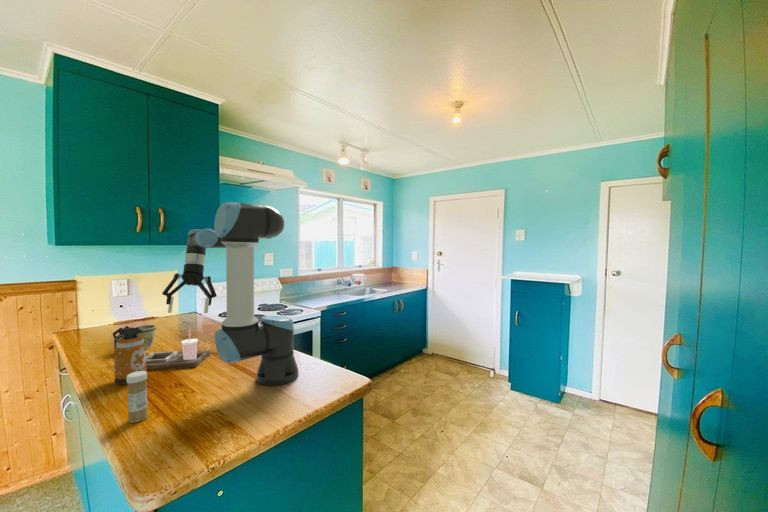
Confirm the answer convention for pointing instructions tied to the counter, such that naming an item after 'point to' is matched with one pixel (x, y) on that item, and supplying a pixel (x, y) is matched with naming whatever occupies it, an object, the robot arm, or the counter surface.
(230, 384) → the counter surface
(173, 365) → the divided serving tray
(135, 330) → the canister
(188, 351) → the beverage cup
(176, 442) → the counter surface
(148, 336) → the ceramic cup
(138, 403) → the sprinkles bottle
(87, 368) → the counter surface
